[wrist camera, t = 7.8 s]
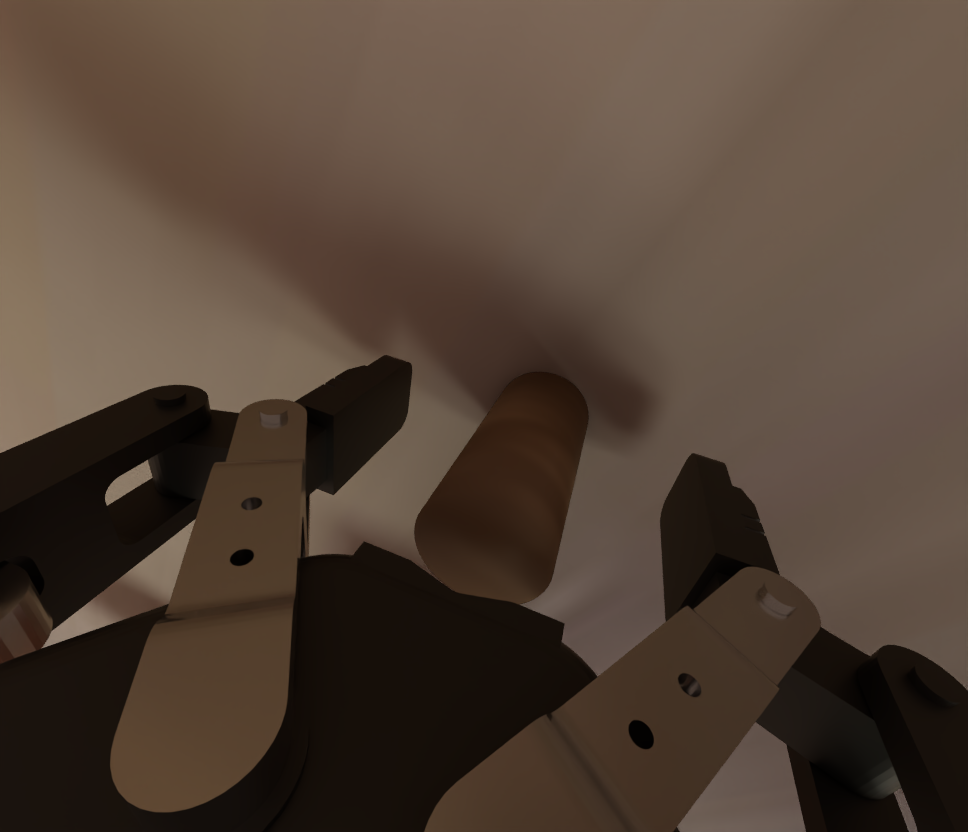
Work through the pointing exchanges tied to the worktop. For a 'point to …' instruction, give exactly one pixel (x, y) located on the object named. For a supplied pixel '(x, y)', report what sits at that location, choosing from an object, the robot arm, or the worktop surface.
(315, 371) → the worktop surface
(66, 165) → the worktop surface
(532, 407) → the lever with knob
